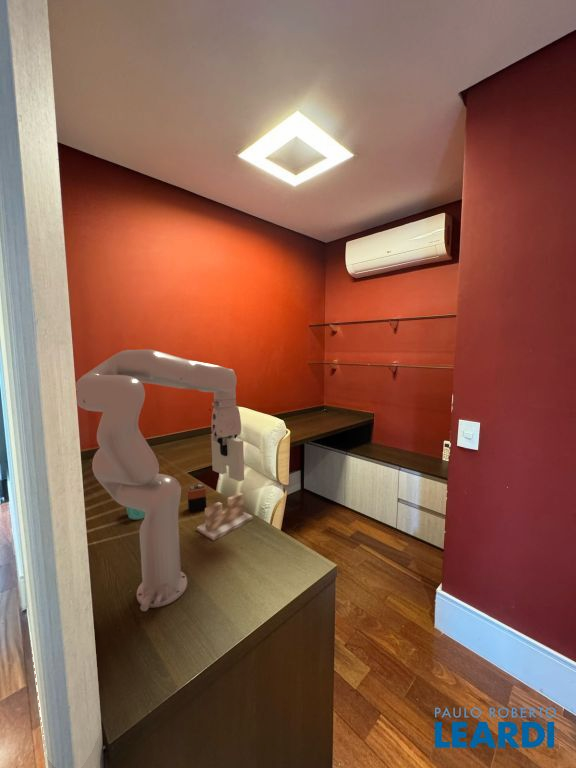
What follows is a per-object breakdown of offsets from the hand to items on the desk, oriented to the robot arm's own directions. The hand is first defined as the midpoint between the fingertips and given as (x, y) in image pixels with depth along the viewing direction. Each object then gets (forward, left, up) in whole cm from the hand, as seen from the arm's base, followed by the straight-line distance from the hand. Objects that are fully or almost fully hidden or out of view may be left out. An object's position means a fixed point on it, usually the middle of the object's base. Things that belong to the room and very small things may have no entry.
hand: (227, 453), depth 111 cm
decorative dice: (+12, +37, -28) cm, 47 cm away
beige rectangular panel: (0, 0, -8) cm, 8 cm away
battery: (+14, +15, -28) cm, 34 cm away
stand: (+1, +2, -27) cm, 27 cm away
